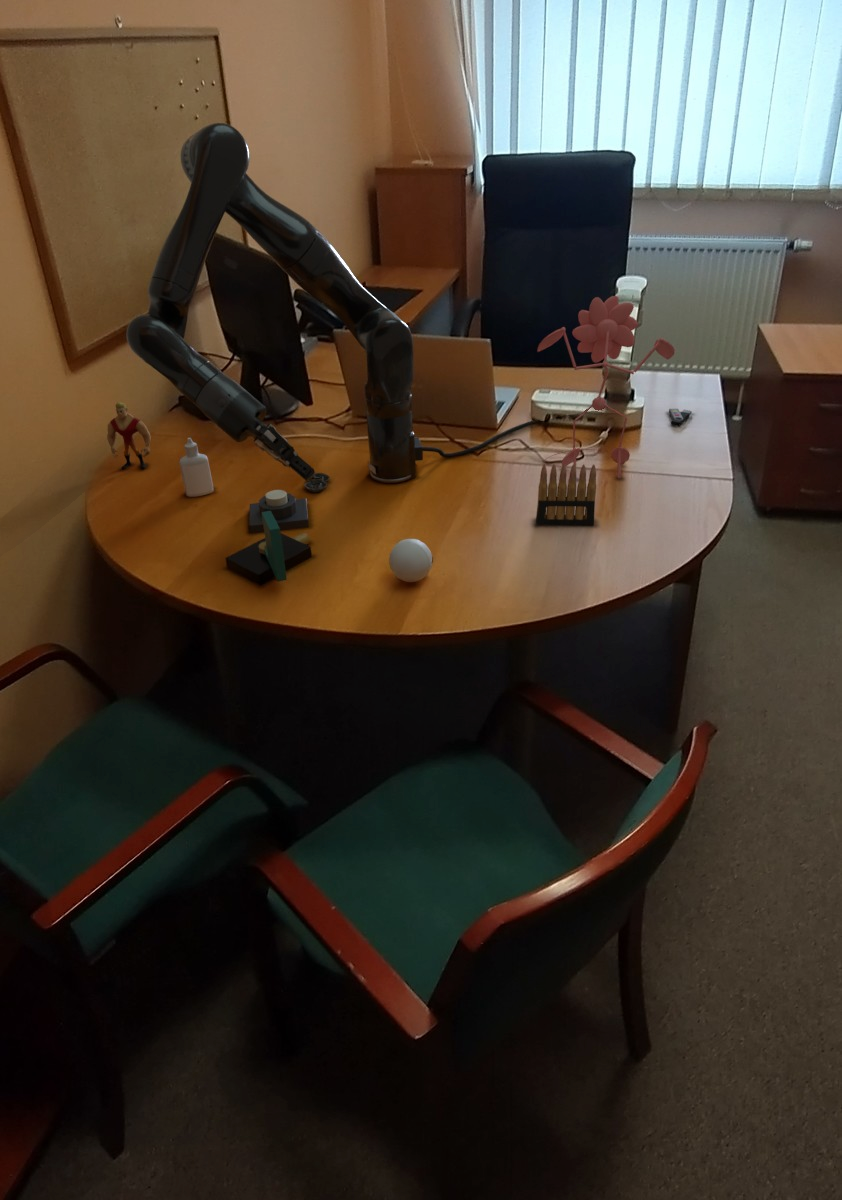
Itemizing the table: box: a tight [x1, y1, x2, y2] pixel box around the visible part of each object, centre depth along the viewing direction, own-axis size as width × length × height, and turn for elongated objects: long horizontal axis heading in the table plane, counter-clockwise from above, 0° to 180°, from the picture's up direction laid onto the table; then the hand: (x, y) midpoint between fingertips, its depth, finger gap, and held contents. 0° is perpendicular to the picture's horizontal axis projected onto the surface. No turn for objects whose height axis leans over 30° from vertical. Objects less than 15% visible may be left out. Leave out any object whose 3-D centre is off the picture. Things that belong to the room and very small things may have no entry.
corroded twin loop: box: [303, 472, 330, 493], centre depth 174 cm, size 5×8×1 cm, turn 0°
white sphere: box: [388, 538, 434, 583], centre depth 143 cm, size 10×7×7 cm
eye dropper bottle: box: [179, 437, 215, 498], centre depth 170 cm, size 4×6×12 cm
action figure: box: [106, 401, 152, 470], centre depth 181 cm, size 10×4×15 cm, turn 88°
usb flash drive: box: [668, 408, 693, 427], centre depth 198 cm, size 9×5×1 cm, turn 147°
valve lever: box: [259, 511, 288, 583], centre depth 142 cm, size 12×3×10 cm, turn 21°
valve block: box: [225, 532, 313, 586], centre depth 150 cm, size 15×9×2 cm, turn 139°
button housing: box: [248, 492, 310, 534], centre depth 162 cm, size 11×9×4 cm
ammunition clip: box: [535, 463, 597, 527], centre depth 155 cm, size 11×2×12 cm, turn 86°
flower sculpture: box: [536, 295, 676, 479], centre depth 169 cm, size 15×26×35 cm, turn 90°
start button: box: [265, 489, 288, 507], centre depth 160 cm, size 4×4×2 cm
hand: (311, 476), depth 140 cm, fingers closed
